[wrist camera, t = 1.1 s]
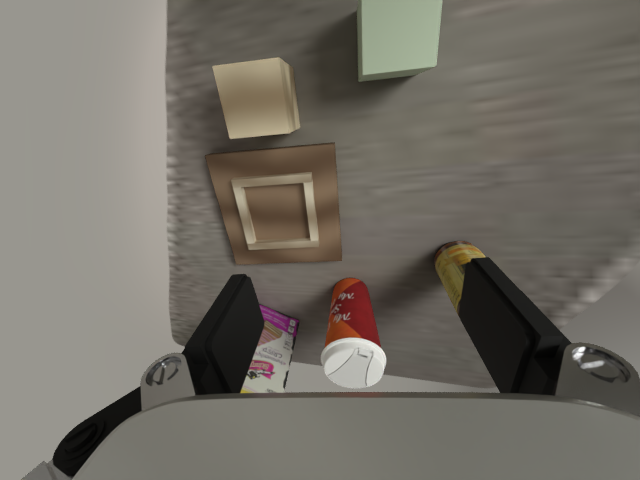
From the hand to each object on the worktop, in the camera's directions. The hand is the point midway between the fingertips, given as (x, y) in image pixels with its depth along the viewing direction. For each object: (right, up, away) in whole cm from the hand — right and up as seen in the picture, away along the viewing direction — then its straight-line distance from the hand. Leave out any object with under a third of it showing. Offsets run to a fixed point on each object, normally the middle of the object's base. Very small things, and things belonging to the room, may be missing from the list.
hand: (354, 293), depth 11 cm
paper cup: (+3, -6, +30) cm, 31 cm away
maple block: (-7, +18, +18) cm, 27 cm away
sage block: (+5, +23, +15) cm, 28 cm away
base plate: (-7, +7, +24) cm, 26 cm away
